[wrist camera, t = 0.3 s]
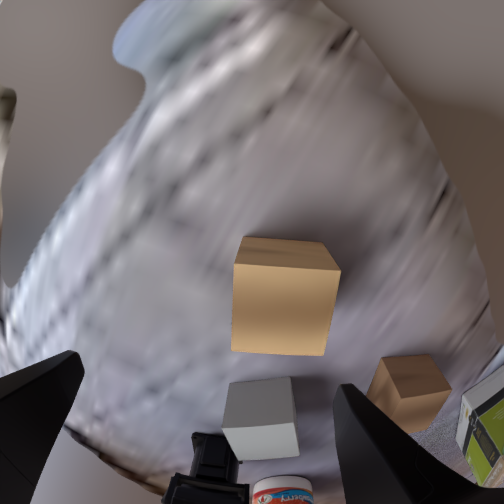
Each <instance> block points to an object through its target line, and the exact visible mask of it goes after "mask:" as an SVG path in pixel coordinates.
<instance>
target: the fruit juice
mask: <svg viewBox="0 0 504 504" xmlns="http://www.w3.org/2000/svg"><path fill="white" fill-rule="evenodd" d="M252 504H313V491H312V485H311V483H310V481H309V480H307V479H305V478H302V477H298V476H275V477H270V478H266V479H263V480H260V481H258V482H257V483H256V484H255V486H254V490H253V502H252Z"/></svg>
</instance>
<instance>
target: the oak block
mask: <svg viewBox="0 0 504 504" xmlns="http://www.w3.org/2000/svg"><path fill="white" fill-rule="evenodd" d="M340 274H341V270H340V269H339V267H338V265H337V264H336V262H335V261H334V259H333V258H332V256H331V255H330V253H329V252H328V250H327V249H326V247H325V246H324V244H323V243H322V242H309V241H296V240H283V239H269V238H256V237H243V238H242V241H241V244H240V247H239V250H238V253H237V256H236V259H235V262H234V280H233V308H232V341H231V351H239V352H251V353H265V354H283V355H312V356H323V355H324V350H325V346H326V342H327V338H328V334H329V329H330V325H331V320H332V315H333V311H334V306H335V301H336V296H337V290H338V285H339V280H340Z"/></svg>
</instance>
